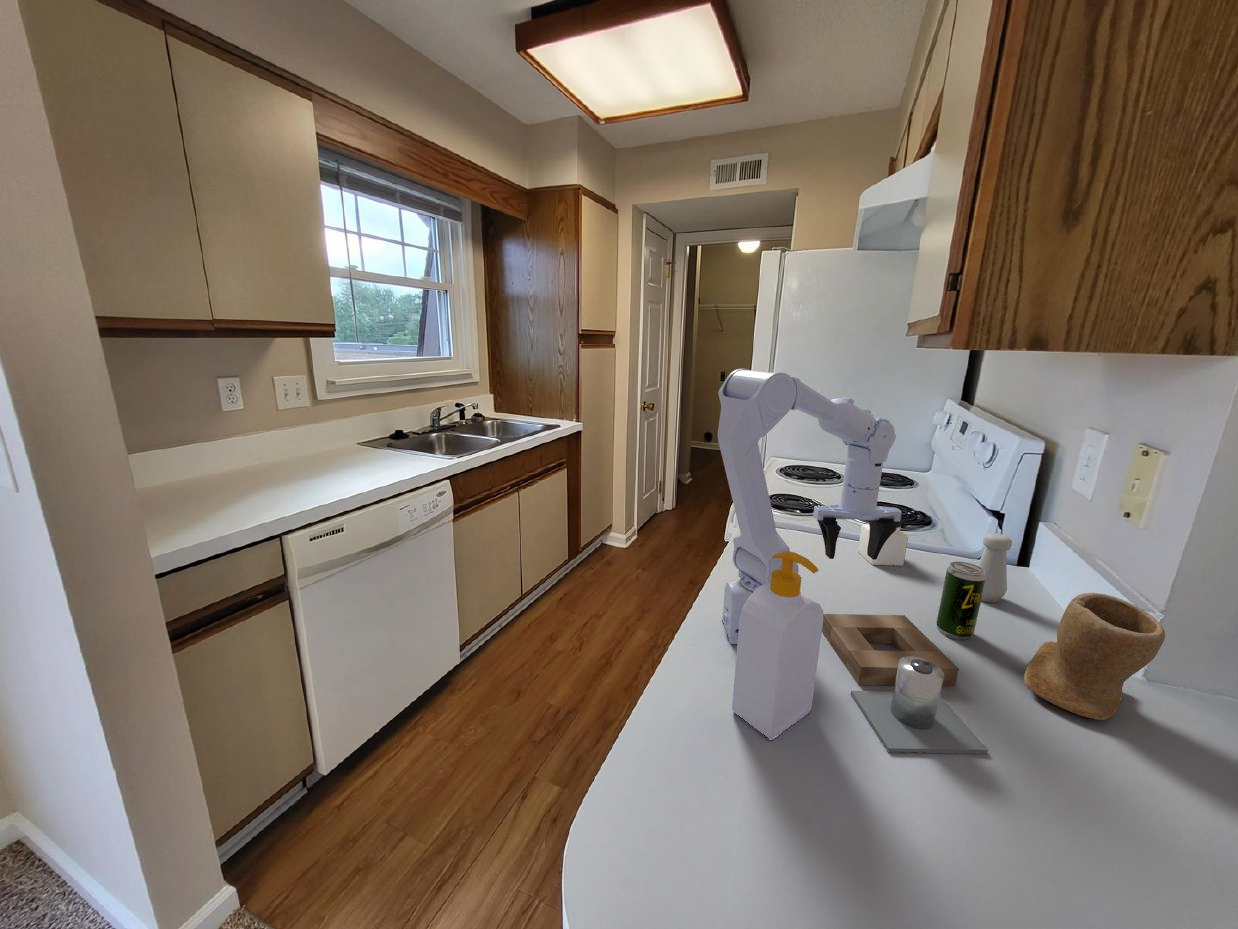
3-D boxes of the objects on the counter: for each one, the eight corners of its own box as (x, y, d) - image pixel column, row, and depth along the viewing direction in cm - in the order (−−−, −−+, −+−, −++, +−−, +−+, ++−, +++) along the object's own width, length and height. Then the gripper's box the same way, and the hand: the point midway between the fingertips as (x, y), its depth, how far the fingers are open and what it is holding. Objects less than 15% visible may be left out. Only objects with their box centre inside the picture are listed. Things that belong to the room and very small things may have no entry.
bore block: (858, 685, 71) (861, 667, 70) (820, 629, 85) (822, 613, 84) (955, 686, 71) (959, 668, 70) (901, 630, 85) (904, 615, 84)
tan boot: (1129, 746, 61) (1164, 640, 57) (1011, 693, 70) (1035, 598, 66) (1146, 694, 70) (1177, 599, 66) (1040, 653, 79) (1062, 567, 75)
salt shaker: (992, 591, 99) (1005, 530, 96) (1011, 606, 93) (1026, 542, 90) (961, 589, 99) (973, 529, 96) (978, 604, 94) (992, 540, 91)
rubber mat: (887, 752, 59) (888, 748, 59) (850, 694, 69) (851, 690, 69) (987, 754, 59) (988, 750, 59) (935, 695, 69) (936, 692, 69)
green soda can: (928, 625, 86) (940, 562, 83) (951, 621, 88) (964, 559, 85) (956, 643, 81) (970, 577, 78) (980, 638, 83) (995, 573, 80)
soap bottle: (775, 747, 60) (794, 575, 54) (730, 713, 65) (744, 553, 60) (816, 715, 65) (838, 555, 60) (772, 686, 71) (788, 537, 65)
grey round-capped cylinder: (900, 727, 62) (910, 675, 61) (883, 700, 67) (892, 651, 66) (942, 731, 62) (953, 679, 60) (922, 703, 67) (932, 654, 65)
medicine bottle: (904, 566, 109) (912, 515, 106) (871, 565, 109) (879, 514, 106) (887, 552, 116) (895, 504, 113) (857, 552, 116) (864, 503, 113)
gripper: (828, 491, 82) (819, 566, 85) (916, 492, 82) (903, 567, 85) (812, 479, 88) (804, 549, 92) (893, 480, 88) (882, 550, 92)
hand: (850, 556), depth 89 cm, fingers open, 7 cm apart
